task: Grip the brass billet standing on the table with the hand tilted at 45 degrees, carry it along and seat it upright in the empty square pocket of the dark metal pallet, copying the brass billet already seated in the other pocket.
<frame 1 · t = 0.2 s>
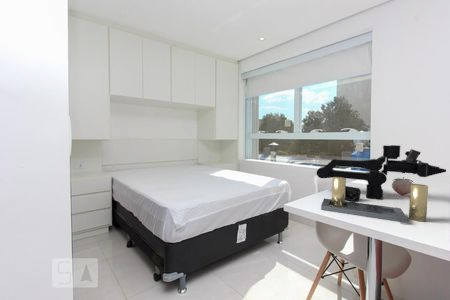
hand: (442, 169, 100), 17 cm above the table, tool horizontal, fingers open, 9 cm apart
decorative fruit: (402, 196, 119), on the table
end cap: (346, 200, 110), on the table
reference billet: (337, 208, 95), resting on pallet
pallet: (359, 212, 91), on the table
brass billet: (417, 219, 84), on the table
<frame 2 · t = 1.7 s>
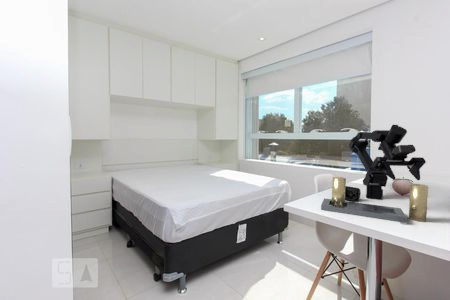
hand: (406, 179, 90), 14 cm above the table, tool tilted 45°, fingers open, 9 cm apart
nothing on the table moved.
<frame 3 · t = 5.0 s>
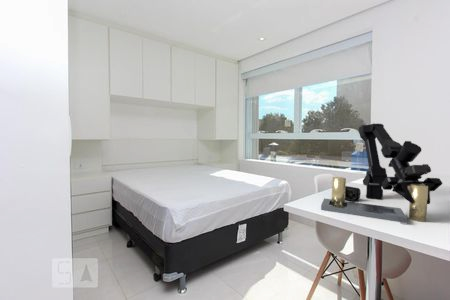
hand: (420, 203, 82), 7 cm above the table, tool tilted 45°, fingers closed on brass billet, 5 cm apart
brass billet: (417, 219, 84), on the table, touching gripper
everything else where it was.
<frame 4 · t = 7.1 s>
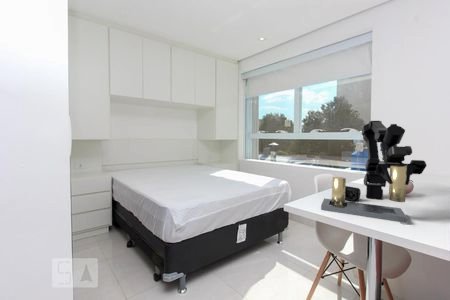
hand: (398, 183, 83), 13 cm above the table, tool tilted 45°, fingers closed on brass billet, 5 cm apart
brass billet: (396, 200, 85), point 7 cm above the table, touching gripper
everything else where it was.
when the fingers open (8 cm above the table, at t = 9.6 s): brass billet stays where it is, resting on pallet.
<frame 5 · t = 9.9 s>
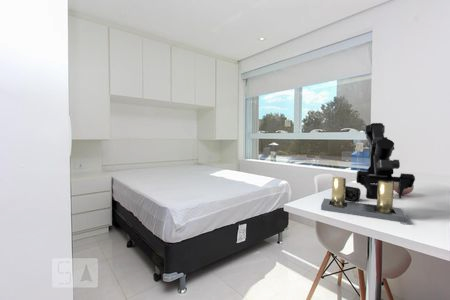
hand: (385, 196, 85), 8 cm above the table, tool tilted 45°, fingers open, 9 cm apart
brass billet: (383, 214, 87), point 1 cm above the table, touching pallet
everything else where it was.
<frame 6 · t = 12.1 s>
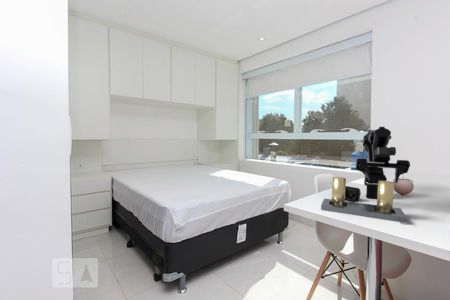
hand: (382, 181, 92), 13 cm above the table, tool tilted 45°, fingers open, 9 cm apart
nothing on the table moved.
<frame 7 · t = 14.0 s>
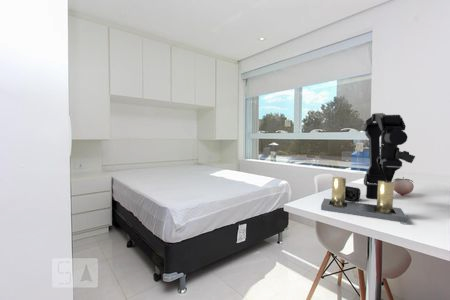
hand: (387, 181, 95), 12 cm above the table, tool pointing down, fingers open, 9 cm apart
nothing on the table moved.
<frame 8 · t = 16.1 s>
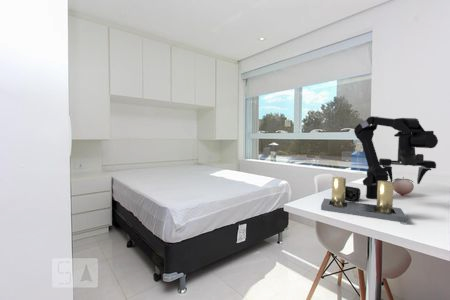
hand: (404, 182, 97), 11 cm above the table, tool pointing down, fingers open, 9 cm apart
nothing on the table moved.
at the end: brass billet 0.1 cm from the target spot on the pallet, point 0.6 cm above the pallet's base; brass billet tilted 1°; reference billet moved 0.0 cm from its start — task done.
